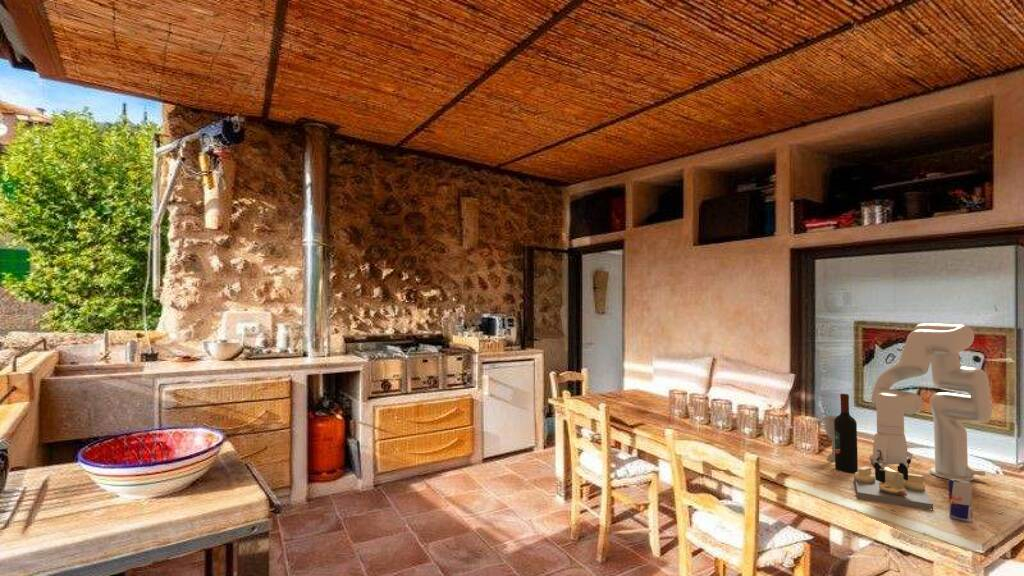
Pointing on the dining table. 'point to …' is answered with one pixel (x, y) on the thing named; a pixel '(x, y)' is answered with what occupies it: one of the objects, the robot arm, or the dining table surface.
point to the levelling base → (913, 487)
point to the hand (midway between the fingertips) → (891, 480)
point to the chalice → (830, 434)
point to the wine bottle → (845, 439)
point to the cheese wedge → (893, 483)
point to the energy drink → (960, 500)
